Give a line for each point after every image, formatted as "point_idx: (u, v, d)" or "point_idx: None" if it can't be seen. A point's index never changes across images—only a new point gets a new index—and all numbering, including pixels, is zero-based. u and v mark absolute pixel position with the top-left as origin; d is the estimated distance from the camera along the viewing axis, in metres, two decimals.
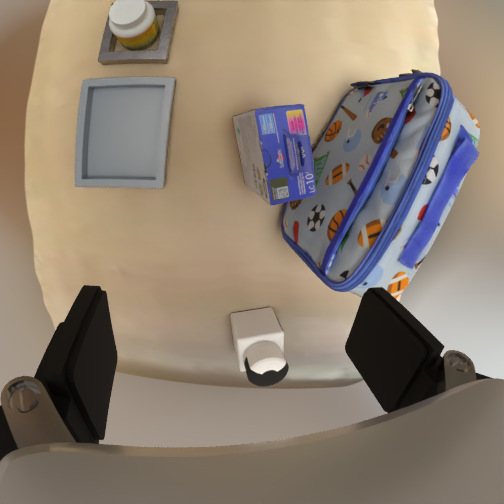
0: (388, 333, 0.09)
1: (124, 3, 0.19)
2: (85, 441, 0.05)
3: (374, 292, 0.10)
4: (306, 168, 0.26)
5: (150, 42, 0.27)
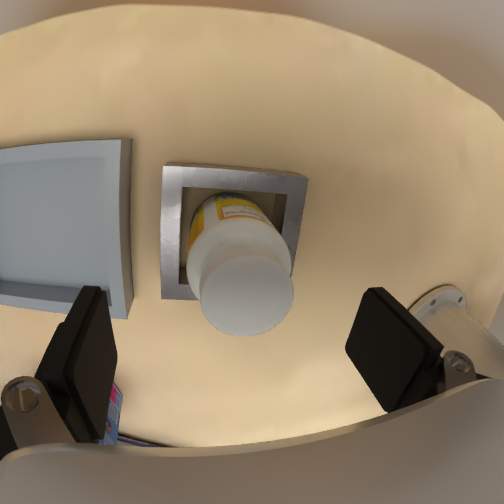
0: (388, 333, 0.09)
1: (268, 290, 0.12)
2: (85, 441, 0.05)
3: (374, 292, 0.10)
4: None
5: None
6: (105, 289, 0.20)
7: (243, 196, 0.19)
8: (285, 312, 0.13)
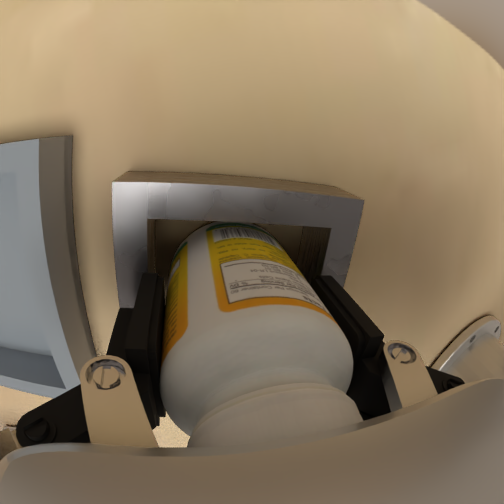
0: None
1: None
2: (155, 417, 0.06)
3: (320, 280, 0.10)
4: None
5: None
6: None
7: (255, 228, 0.11)
8: None
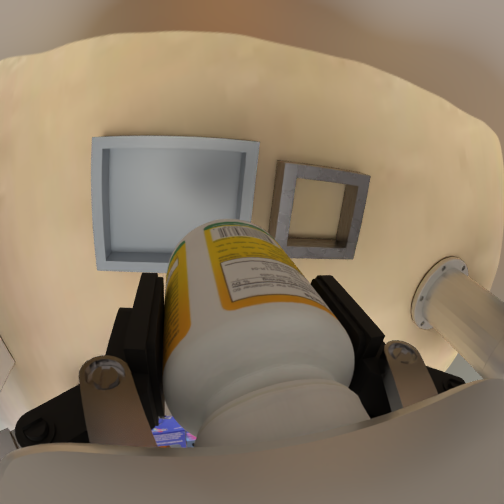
0: None
1: None
2: (154, 417, 0.06)
3: (321, 280, 0.10)
4: None
5: None
6: None
7: (252, 227, 0.11)
8: None
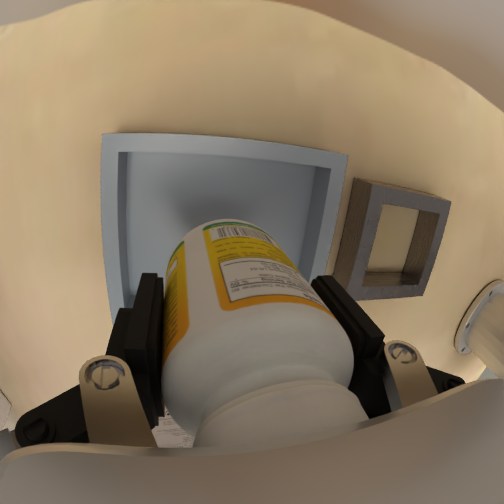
0: None
1: None
2: (154, 417, 0.06)
3: (321, 280, 0.10)
4: None
5: None
6: None
7: (252, 227, 0.11)
8: None
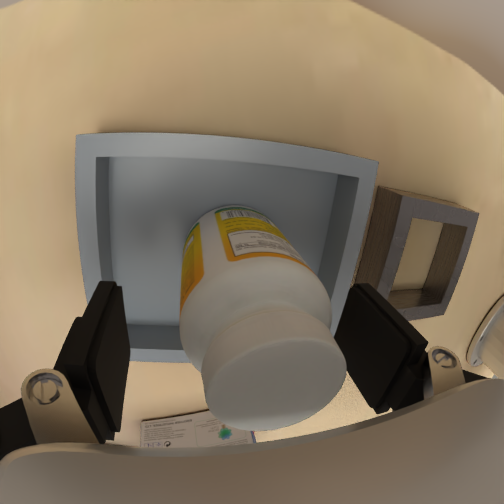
0: (372, 329, 0.09)
1: (311, 378, 0.07)
2: (103, 433, 0.05)
3: (359, 288, 0.10)
4: None
5: None
6: None
7: (254, 211, 0.14)
8: (330, 399, 0.08)
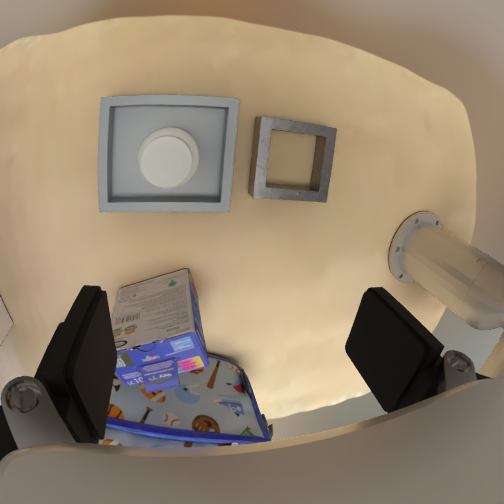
0: (388, 333, 0.09)
1: (177, 156, 0.20)
2: (85, 441, 0.05)
3: (374, 292, 0.10)
4: (148, 385, 0.24)
5: None
6: (208, 197, 0.32)
7: None
8: (188, 170, 0.21)
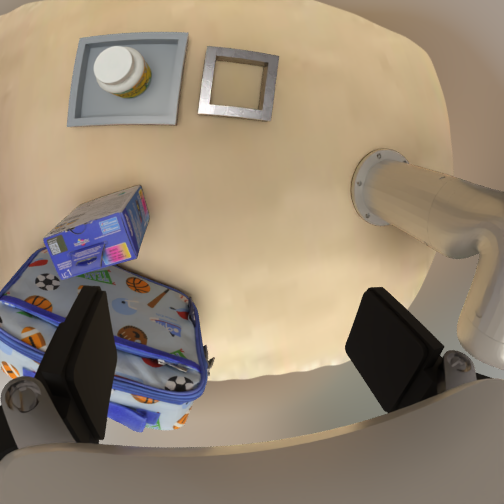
0: (388, 333, 0.09)
1: (121, 59, 0.20)
2: (85, 441, 0.05)
3: (374, 292, 0.10)
4: (74, 269, 0.24)
5: None
6: (160, 116, 0.32)
7: None
8: (128, 68, 0.21)
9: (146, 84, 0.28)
